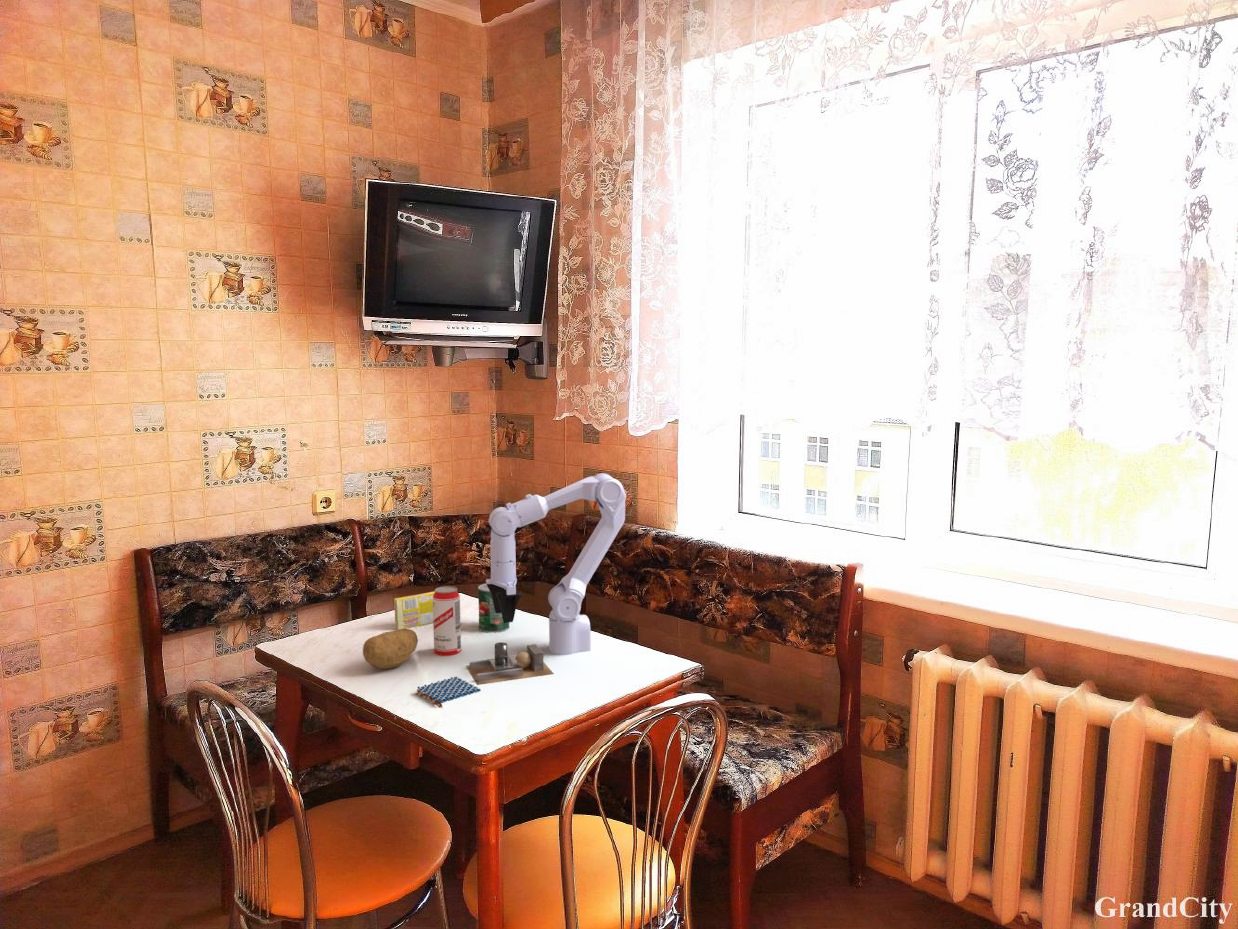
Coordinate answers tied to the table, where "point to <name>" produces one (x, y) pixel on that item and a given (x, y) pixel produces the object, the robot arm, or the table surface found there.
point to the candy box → (413, 610)
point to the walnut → (523, 659)
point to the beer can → (446, 621)
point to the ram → (502, 659)
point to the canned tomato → (489, 612)
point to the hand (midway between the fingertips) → (504, 617)
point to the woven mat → (446, 690)
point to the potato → (390, 648)
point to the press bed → (486, 675)
